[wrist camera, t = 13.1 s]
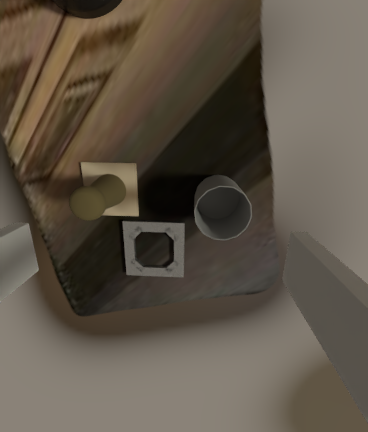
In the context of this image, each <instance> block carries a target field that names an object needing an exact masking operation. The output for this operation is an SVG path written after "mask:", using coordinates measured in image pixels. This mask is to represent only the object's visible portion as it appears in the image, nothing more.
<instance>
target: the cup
mask: <svg viewBox="0 0 368 432" xmlns="http://www.w3.org/2000/svg"><path fill="white" fill-rule="evenodd" d="M194 214H195V222H196V224H197V226H198V227H199V229H200V230H201V232H202V233H203V234H205V235H207V236H208V237H210V238H212V239H217V240H228V239H231V238H234V237H237V236H238V235H240V234H241V233H242V232H243V231H244V230H245V229H247V227H248V224H249V222H250V220H251V218H252V210H251V203H250V202H249V200H248V198H247V197H246V195H245V194H244V192H243V191H242V190H241V189H240V188H239V187H238V185H237V184H236V183H235V182H234V181H233V180H231V179H230V178H228V177H226V176H221V175H213V176H211V177H208V178H205V179H204V180H203V181H202V182H201V183H200V184H199V185H198V187H197V190H196V193H195V200H194Z"/></svg>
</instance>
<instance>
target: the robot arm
mask: <svg viewBox="0 0 368 432" xmlns="http://www.w3.org/2000/svg"><path fill="white" fill-rule="evenodd" d="M52 1H54V2H55V3H56V4H57V5H58V6H59V7H60V8H62V9H63V10H64V11H66V12H68V13H70V14H72V15H74V16H78V17H82V18H96V17H100V16H103V15H105V14H107V13H109V12H110V11H112V10H113V9H114V8H116V7H117V6H118V5H119V4H120V2H121V1H122V0H52ZM38 270H39V269H38V264H37V259H36V255H35V251H34V246H33V242H32V237H31V232H30V227H29V224H28V223H12V224H10V225H8V226H6V227H4V228H2V229H0V302H1V301H3V300H4V299H5V298H6V297H7V296H9V295H10V294H11V293H12V292H13V291H14V290H16V289H17V288H18V287H19V286H21V285H22V284H23V283H24V282H25V281H26V280H28V279H29V278H30V277H31V276H32V275H34V274H35V273H36V272H37V271H38ZM282 281H283V283H284V284H285V286H286V288H287V289H288V291H289V293H290V294H291V296H292V298H293V299H294V301H295V302H296V304H297V306H298V308H299V309H300V311H301V313H302V314H303V316H304V318H305V319H306V321H307V323H308V324H309V326H310V328H311V329H312V331H313V333H314V334H315V336H316V338H317V339H318V341H319V343H320V344H321V346H322V348H323V349H324V351H325V353H326V354H327V356H328V358H329V360H330V361H331V363H332V365H333V366H334V368H335V369H336V371H337V373H338V374H339V376H340V378H341V379H342V381H343V383H344V385H345V386H346V388H347V390H348V391H349V393H350V395H351V396H352V398H353V400H354V401H355V403H356V405H357V406H358V408H359V410H360V411H361V413H362V415H363V416H364V418H365V420H366V421H367V423H368V284H367V283H366V282H364V281H363V280H362V279H361V278H360V277H358V276H357V275H356V274H355V273H354V272H353V271H351V270H350V269H349V268H348V267H347V266H345V265H344V264H343V263H342V262H341V261H340V260H339V259H338V258H336V257H335V256H334V255H333V254H331V252H329V251H328V250H327V249H326V248H325V247H324V246H322V245H321V244H320V243H319V242H318V241H316V240H315V239H314V238H313V237H312V236H311V235H309V234H308V233H307V232H291V233H290V239H289V244H288V250H287V256H286V261H285V268H284V272H283V279H282Z"/></svg>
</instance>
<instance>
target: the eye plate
mask: <svg viewBox="0 0 368 432" xmlns="http://www.w3.org/2000/svg"><path fill="white" fill-rule="evenodd" d="M141 232H166V233H167V234H168V235H169V236H170V237H171V238H172V239H173V240H174V260H173V261H172V262H170V263H169V264H168V265H167V266H163V265H144V264H143V263H142V262H141V261H140V260H139V259H137V258H136V244H135V237H136V236H137V235H138V234H140V233H141ZM123 234H124V247H125V260H126V273H127V275H141V276H164V277H184V234H185V221H153V220H123Z"/></svg>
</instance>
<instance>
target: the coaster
mask: <svg viewBox="0 0 368 432" xmlns="http://www.w3.org/2000/svg"><path fill="white" fill-rule="evenodd" d="M81 169H82V177H83V185H84V186H89V185H91V184H92V183H93V182H94V181H95V180H96V179H98V178H99V177H100V176H102V175H104V174H113V175H116V176H118V177H119V178H120V179H121V180H122V181H123V182H124V184H125V187H126V196H125V199H124V200H123V201H122V202H121V203H120V204H118V205H115V206H113V207H111V208H108V209H106V210H105V212H104V213H103V214H102V215H114V216H139V209H138V190H137V171H136V163H108V162H81Z"/></svg>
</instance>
